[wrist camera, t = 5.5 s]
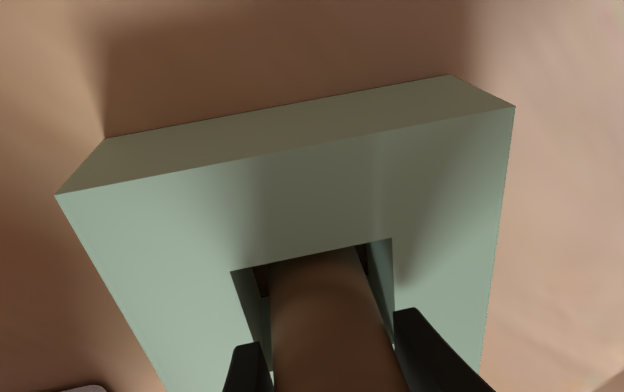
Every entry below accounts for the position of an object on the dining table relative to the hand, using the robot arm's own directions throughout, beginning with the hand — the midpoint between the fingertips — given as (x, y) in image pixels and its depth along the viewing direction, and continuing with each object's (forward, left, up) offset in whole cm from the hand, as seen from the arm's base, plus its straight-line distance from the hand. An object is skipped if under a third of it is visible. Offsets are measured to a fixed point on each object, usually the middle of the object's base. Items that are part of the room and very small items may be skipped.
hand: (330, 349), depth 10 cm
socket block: (0, 0, -5) cm, 5 cm away
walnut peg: (0, 0, -4) cm, 4 cm away
